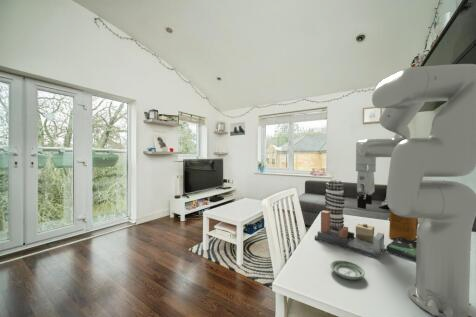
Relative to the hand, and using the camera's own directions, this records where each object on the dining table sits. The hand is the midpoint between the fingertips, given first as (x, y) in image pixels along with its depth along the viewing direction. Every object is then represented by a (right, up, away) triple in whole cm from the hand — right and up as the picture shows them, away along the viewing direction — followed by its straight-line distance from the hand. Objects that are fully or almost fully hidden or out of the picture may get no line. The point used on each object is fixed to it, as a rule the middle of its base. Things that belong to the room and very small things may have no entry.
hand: (364, 206), depth 90 cm
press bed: (-10, -15, -4) cm, 19 cm away
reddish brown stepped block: (-14, -13, 0) cm, 19 cm away
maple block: (0, -15, 0) cm, 15 cm away
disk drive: (+10, -16, -11) cm, 22 cm away
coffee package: (+19, -15, +1) cm, 24 cm away
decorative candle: (-8, -15, +11) cm, 20 cm away
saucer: (-22, -16, -26) cm, 38 cm away
